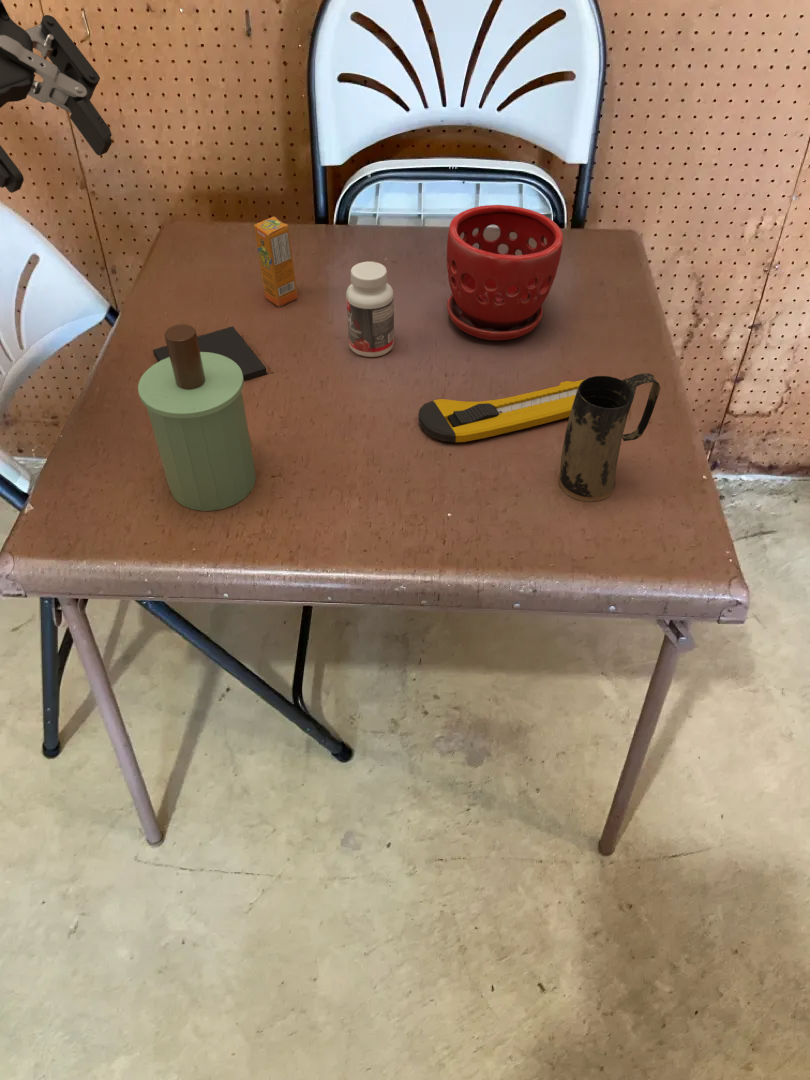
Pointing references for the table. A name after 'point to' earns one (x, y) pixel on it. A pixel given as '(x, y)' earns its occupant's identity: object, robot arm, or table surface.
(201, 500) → the canister
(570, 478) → the mug
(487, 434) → the utility knife
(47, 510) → the table surface
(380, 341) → the pill bottle
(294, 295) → the supplement box
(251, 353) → the mat
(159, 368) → the stopper
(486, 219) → the flower pot
